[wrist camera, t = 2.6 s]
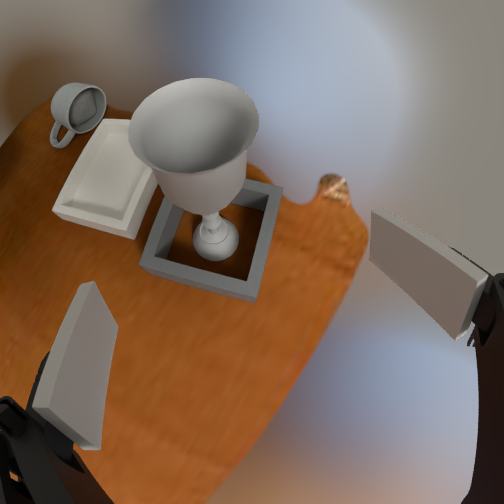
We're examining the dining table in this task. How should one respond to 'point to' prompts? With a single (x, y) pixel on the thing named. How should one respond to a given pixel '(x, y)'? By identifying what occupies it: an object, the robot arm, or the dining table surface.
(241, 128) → the chalice
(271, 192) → the charcoal collar
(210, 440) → the dining table surface
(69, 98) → the ceramic mug
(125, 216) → the off-white tray
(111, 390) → the dining table surface
